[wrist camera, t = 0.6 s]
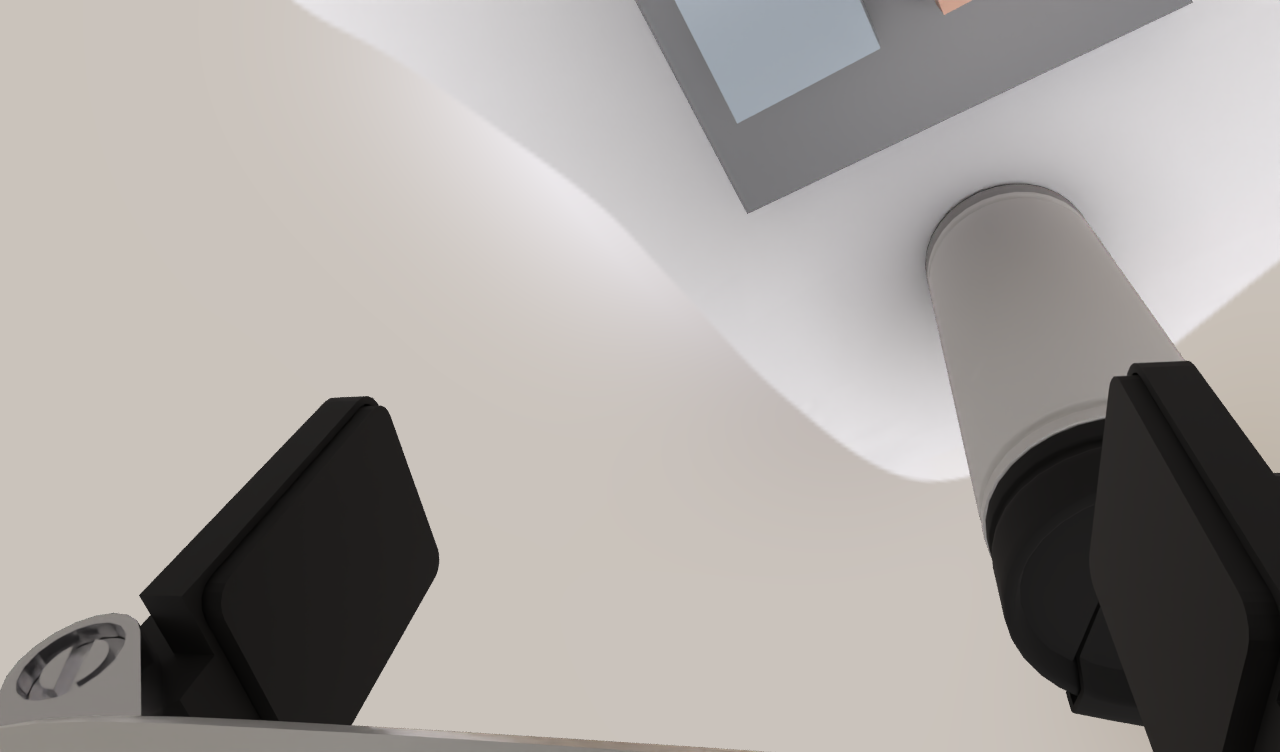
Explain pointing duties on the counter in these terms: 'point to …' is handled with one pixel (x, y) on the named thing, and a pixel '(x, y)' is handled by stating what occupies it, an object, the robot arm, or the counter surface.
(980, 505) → the travel mug
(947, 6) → the key terracotta
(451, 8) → the counter surface
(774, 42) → the key blue
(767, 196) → the keypad board
